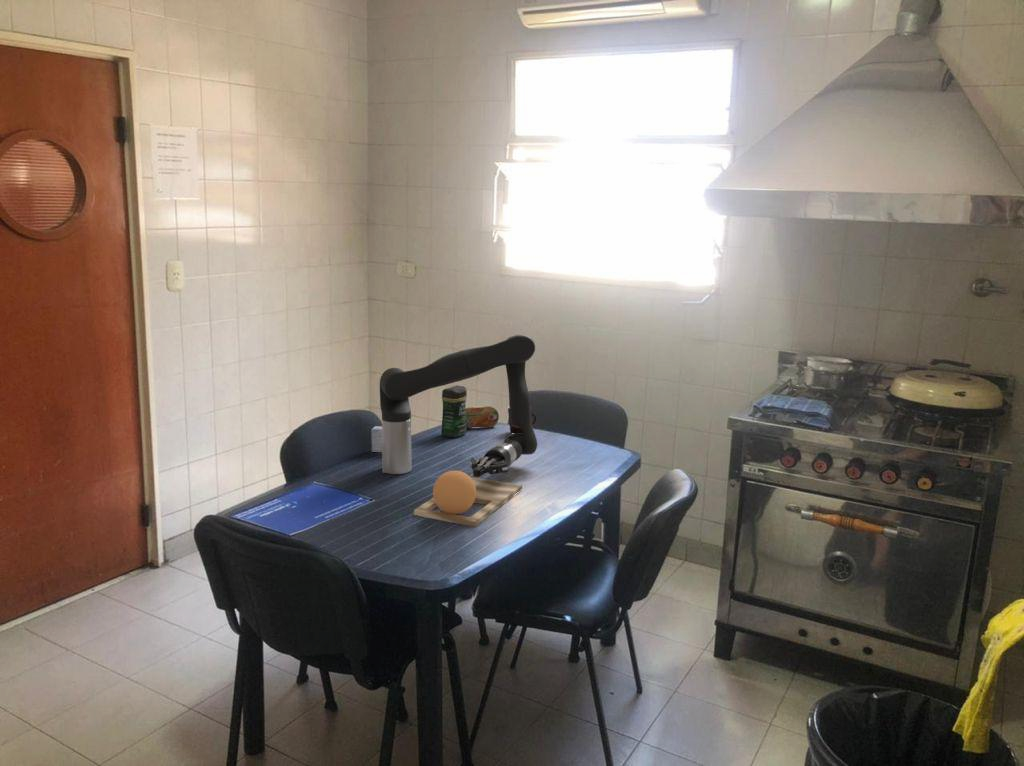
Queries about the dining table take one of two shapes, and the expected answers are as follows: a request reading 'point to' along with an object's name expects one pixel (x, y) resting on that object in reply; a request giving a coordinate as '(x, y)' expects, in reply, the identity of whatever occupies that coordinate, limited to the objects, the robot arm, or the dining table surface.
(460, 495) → the ball
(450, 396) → the coffee jar
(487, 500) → the board
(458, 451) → the dining table surface
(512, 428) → the coffee mug
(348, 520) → the dining table surface
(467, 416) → the tin
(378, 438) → the medicine box
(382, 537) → the dining table surface
